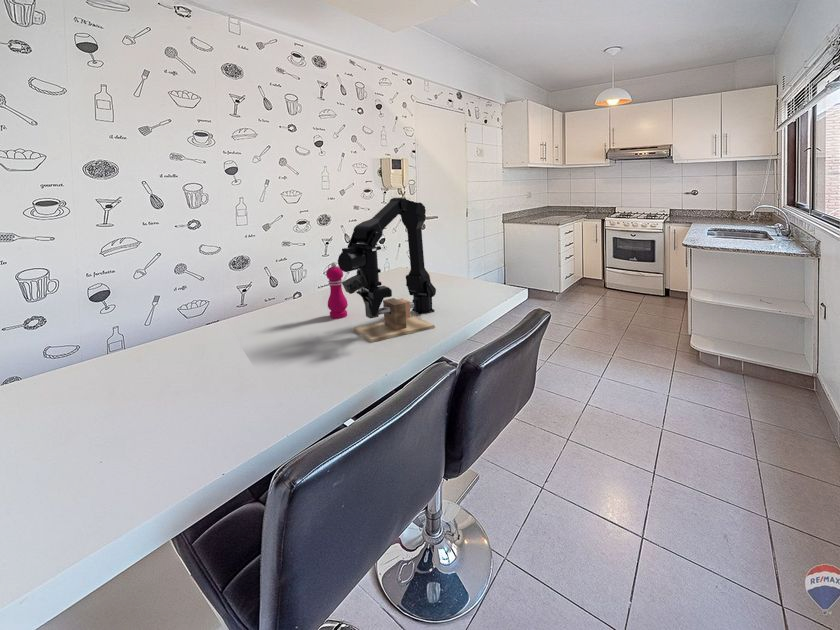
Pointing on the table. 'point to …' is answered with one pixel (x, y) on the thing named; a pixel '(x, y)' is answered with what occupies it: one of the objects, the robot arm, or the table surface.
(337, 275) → the pepper mill
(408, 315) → the spacer
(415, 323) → the base plate
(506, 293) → the table surface
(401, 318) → the bearing block
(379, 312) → the shaft
